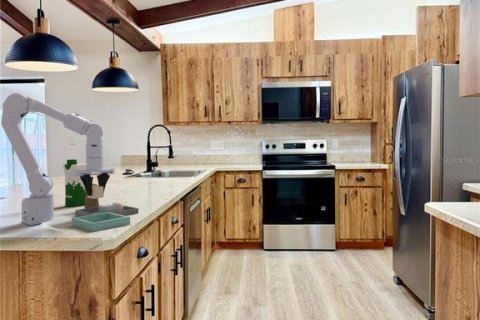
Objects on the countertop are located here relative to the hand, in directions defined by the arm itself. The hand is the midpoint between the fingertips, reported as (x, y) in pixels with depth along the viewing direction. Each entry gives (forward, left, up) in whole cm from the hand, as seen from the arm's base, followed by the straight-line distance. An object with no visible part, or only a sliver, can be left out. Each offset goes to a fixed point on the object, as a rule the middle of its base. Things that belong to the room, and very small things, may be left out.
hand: (95, 194), depth 138 cm
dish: (-6, -14, -8) cm, 18 cm away
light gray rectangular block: (+2, -3, -8) cm, 9 cm away
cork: (+6, +14, -9) cm, 17 cm away
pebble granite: (+9, +1, -8) cm, 12 cm away
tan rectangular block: (0, 0, -1) cm, 1 cm away
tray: (+5, +1, -8) cm, 10 cm away
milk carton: (+9, +32, -9) cm, 34 cm away
